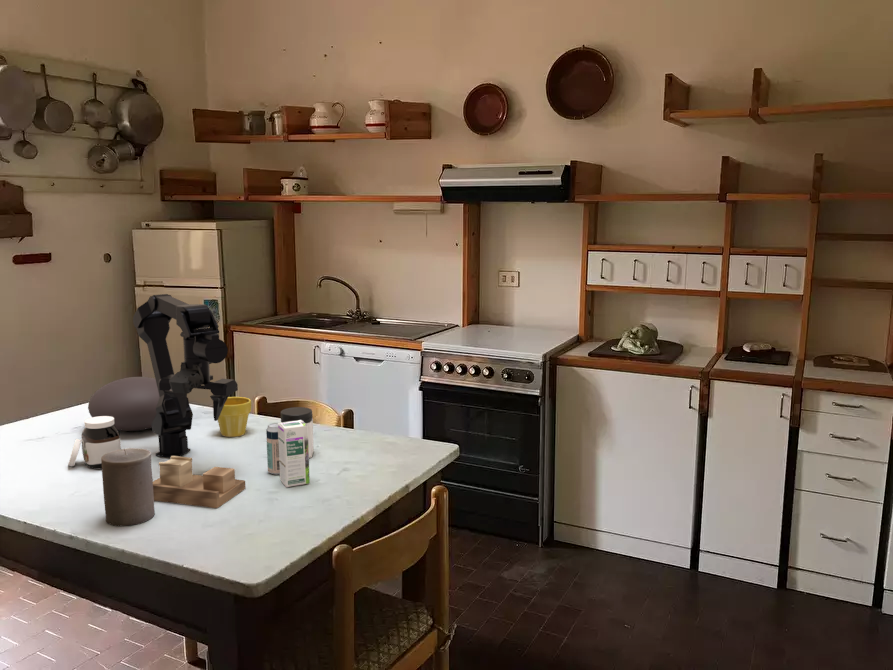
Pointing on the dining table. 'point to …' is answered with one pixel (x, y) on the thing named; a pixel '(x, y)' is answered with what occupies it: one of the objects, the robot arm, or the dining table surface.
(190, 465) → the flanged wooden block
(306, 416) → the jar
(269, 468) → the beer can
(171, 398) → the robot arm
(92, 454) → the spread jar
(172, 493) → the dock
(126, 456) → the pillar candle
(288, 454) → the syrup box
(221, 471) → the box
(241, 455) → the dining table surface
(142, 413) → the flattened ellipsoid
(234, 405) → the plant pot
